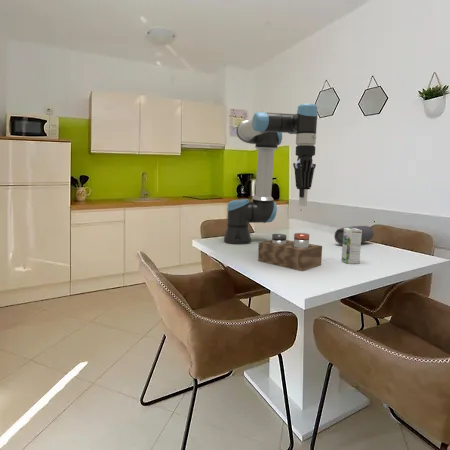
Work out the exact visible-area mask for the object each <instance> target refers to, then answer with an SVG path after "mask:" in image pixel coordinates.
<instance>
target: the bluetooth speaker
mask: <svg viewBox="0 0 450 450" xmlns="http://www.w3.org/2000/svg"><path fill="white" fill-rule="evenodd" d="M344 228H356V229H359V230H362V236H361V243H363V242H364V243H365V242H368V241H370V240H372V239H373V237H374V230H373V229H372V228H371V226H369V225H356V226H355V225H353V226H347V227H342V228H337V229H336V231H335V232H334V236H333V237H334V240H335V242H336V243H337V244H339V245H343V235H344Z"/></svg>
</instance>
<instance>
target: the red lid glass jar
mask: <svg viewBox="0 0 450 450" xmlns="http://www.w3.org/2000/svg"><path fill="white" fill-rule="evenodd" d="M293 241H294V247H298V248H308V247H309V244H310V233H307V232H306V233H305V232H295V233H293Z"/></svg>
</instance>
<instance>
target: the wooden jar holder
mask: <svg viewBox="0 0 450 450" xmlns="http://www.w3.org/2000/svg"><path fill="white" fill-rule="evenodd" d="M257 251H258V252H257V260H258V261H259V262H262V263H265V264H270V265H275V266H280V267H284V268H288V269H293V270H297V271H300V272H304V271H307V270H310V269H313V268H316V267H320V266H321V265H322V254H323V246H322V245H319V244H318V245H317V244H313V243H309V247H308V248H298V247H294V240H289V239H286V243H285V244H276V243H272V239H269V240H266V241H265V240H264V241H260V242H258V250H257Z"/></svg>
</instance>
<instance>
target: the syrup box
mask: <svg viewBox="0 0 450 450" xmlns="http://www.w3.org/2000/svg"><path fill="white" fill-rule="evenodd" d="M343 228H344V235H343V244H342V249H341V251H342V252H341V262H343V263H345V264H348V265H349V264H354V265H355V264H360V260H361V259H360V258H361V249H362V248H361V247H362V242H361V236H362V230H359V229H356V228H346V227H343Z"/></svg>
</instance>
